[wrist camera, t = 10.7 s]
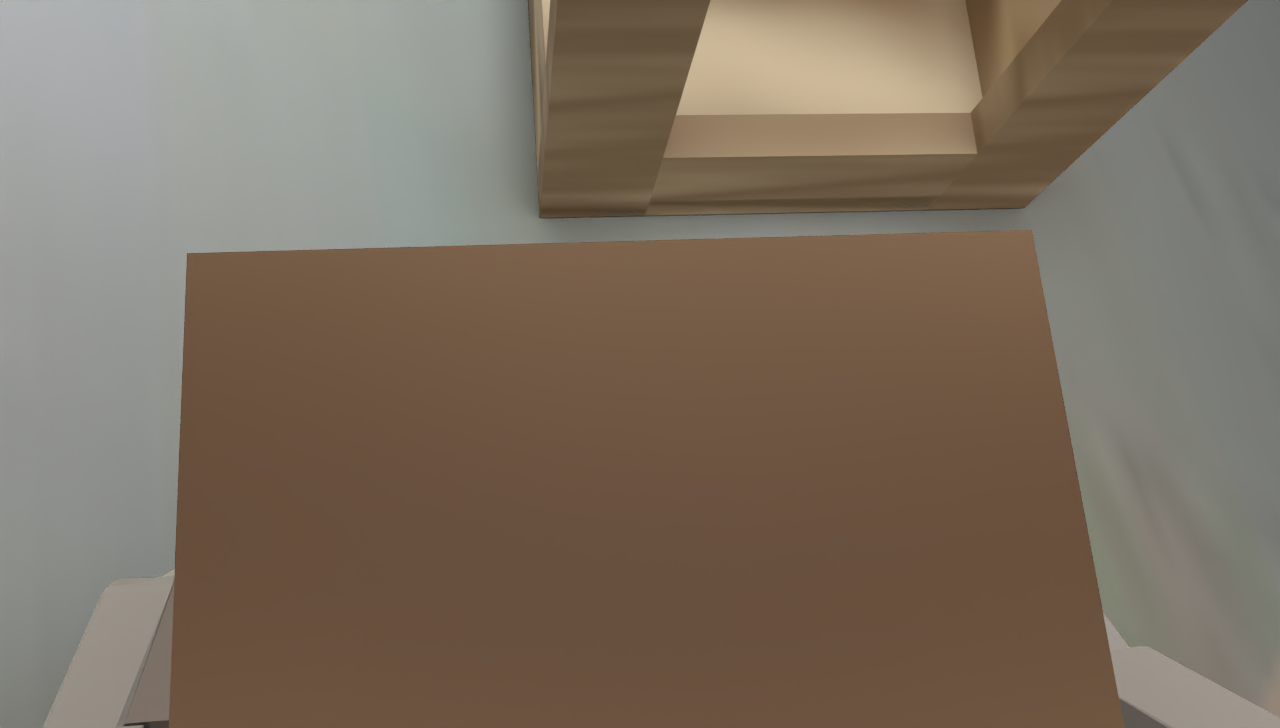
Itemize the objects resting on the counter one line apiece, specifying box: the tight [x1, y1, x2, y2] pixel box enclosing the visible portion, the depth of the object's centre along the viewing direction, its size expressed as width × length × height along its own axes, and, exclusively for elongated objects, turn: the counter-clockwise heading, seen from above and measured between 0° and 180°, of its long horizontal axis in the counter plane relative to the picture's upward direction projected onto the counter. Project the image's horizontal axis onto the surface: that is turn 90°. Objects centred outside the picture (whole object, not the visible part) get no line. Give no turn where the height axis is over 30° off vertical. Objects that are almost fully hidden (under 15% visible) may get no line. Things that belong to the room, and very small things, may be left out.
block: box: [169, 230, 1124, 728], centre depth 10 cm, size 4×4×9 cm
